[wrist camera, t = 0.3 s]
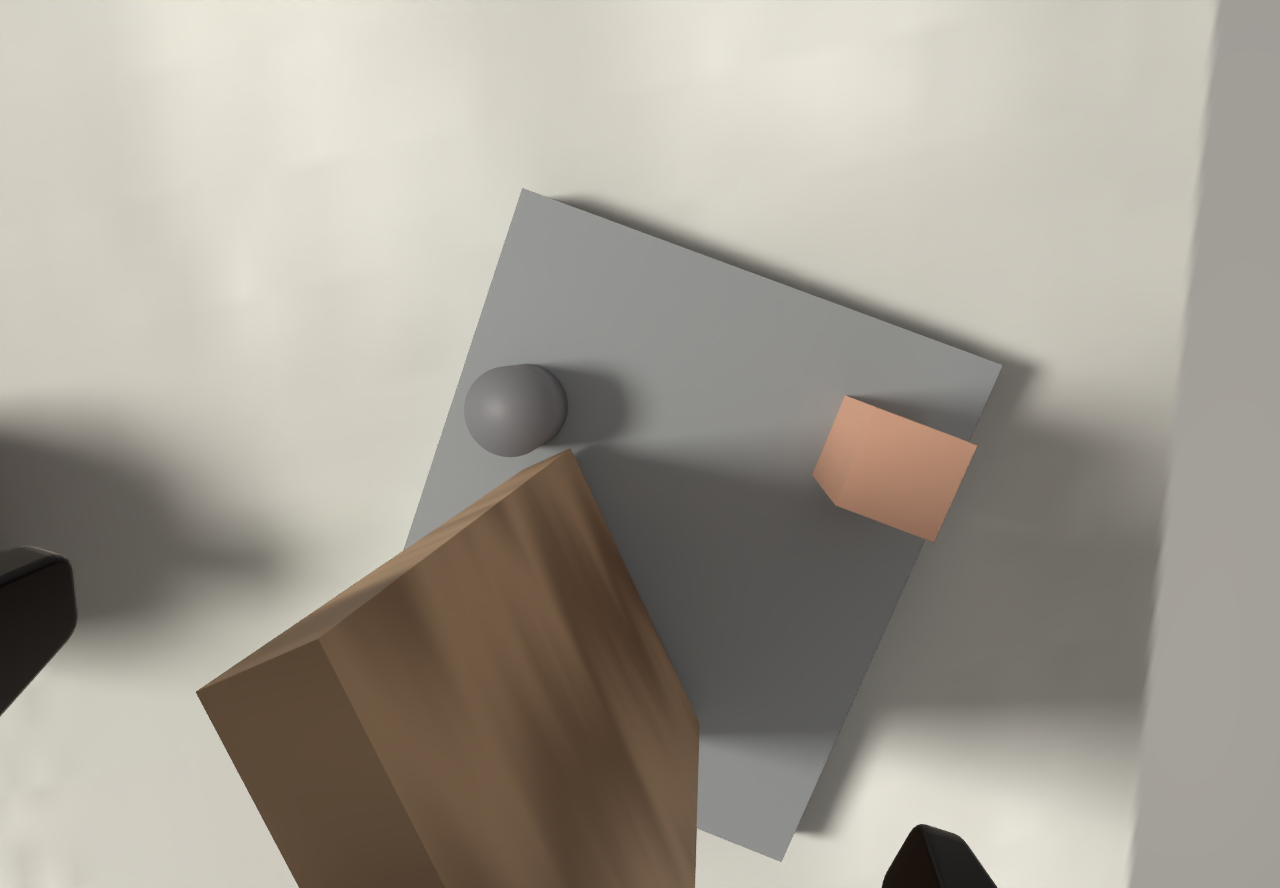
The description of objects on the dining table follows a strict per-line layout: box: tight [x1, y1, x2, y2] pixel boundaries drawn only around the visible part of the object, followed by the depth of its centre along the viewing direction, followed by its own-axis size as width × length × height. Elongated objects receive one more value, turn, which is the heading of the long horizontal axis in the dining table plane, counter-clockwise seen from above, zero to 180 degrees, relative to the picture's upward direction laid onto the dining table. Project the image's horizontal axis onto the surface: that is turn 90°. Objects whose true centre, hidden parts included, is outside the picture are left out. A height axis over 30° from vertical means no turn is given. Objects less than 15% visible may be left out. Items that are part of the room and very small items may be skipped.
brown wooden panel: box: [196, 448, 700, 888], centre depth 15 cm, size 9×2×14 cm, turn 25°
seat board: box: [403, 188, 1003, 862], centre depth 21 cm, size 16×14×6 cm
